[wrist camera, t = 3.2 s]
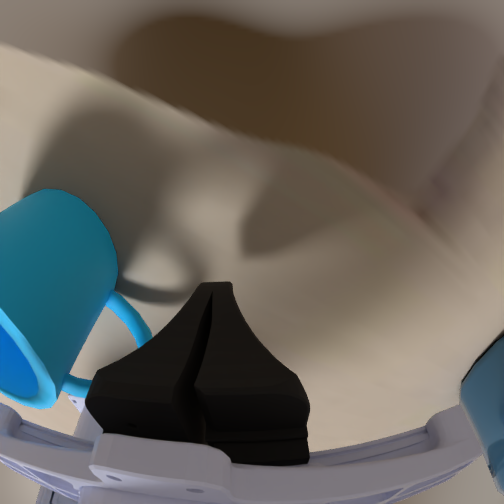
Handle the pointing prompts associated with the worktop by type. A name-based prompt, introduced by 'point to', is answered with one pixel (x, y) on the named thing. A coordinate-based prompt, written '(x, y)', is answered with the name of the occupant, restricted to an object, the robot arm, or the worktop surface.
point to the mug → (54, 294)
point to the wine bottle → (487, 408)
